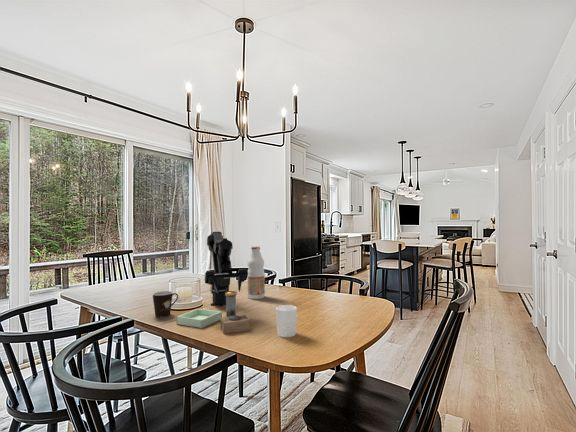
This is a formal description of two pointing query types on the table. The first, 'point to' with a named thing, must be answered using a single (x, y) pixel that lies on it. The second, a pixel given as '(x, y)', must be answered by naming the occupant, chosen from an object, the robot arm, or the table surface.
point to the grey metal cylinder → (230, 303)
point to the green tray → (199, 318)
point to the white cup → (286, 320)
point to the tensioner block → (234, 324)
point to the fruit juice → (256, 275)
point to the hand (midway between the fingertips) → (229, 292)
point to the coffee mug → (163, 303)
